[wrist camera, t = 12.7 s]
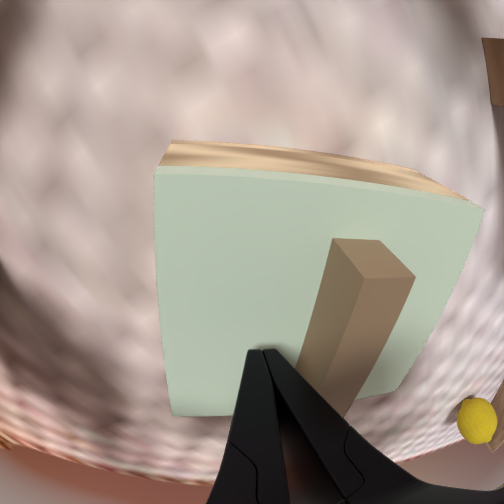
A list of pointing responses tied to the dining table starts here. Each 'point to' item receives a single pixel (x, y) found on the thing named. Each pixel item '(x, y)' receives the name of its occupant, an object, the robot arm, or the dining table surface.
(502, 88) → the tan rectangular bar
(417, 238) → the lid
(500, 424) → the bread crate
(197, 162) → the open wooden box
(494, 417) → the lemon
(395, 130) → the dining table surface
